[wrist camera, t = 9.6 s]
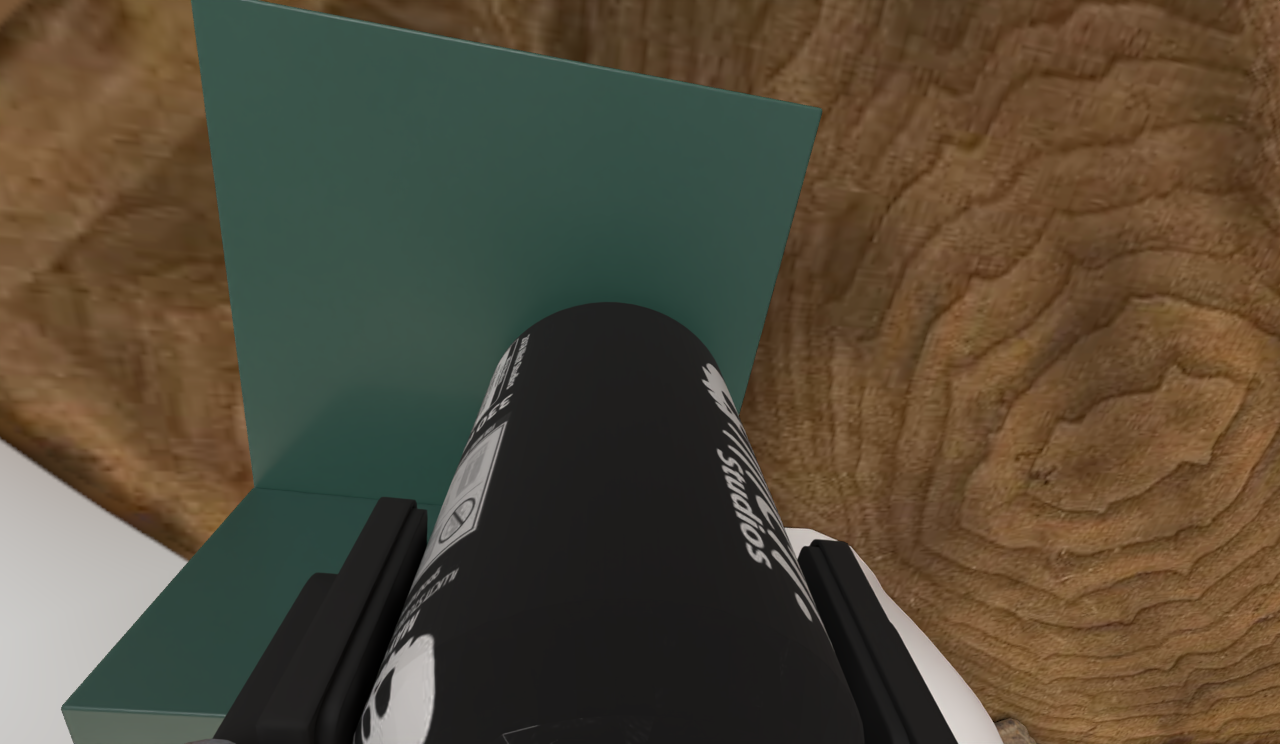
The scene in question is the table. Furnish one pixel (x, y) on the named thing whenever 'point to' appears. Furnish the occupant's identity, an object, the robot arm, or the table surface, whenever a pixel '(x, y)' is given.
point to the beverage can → (609, 563)
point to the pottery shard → (1013, 732)
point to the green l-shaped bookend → (423, 288)
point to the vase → (925, 661)
